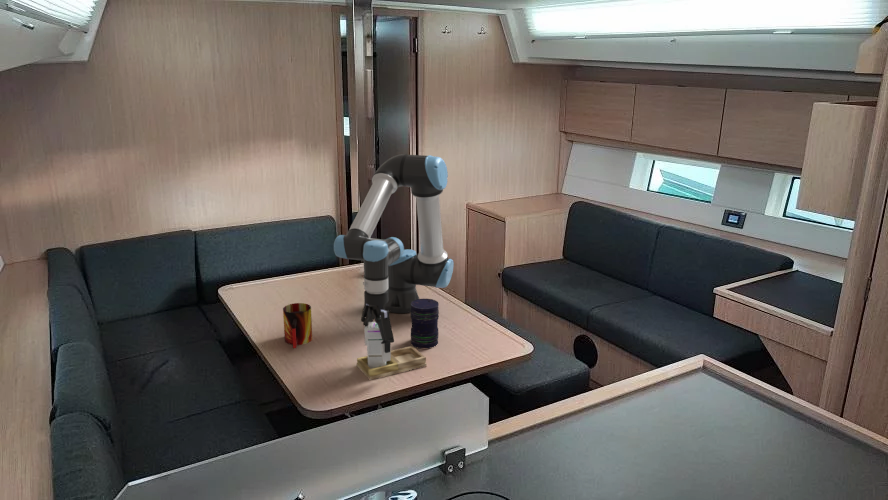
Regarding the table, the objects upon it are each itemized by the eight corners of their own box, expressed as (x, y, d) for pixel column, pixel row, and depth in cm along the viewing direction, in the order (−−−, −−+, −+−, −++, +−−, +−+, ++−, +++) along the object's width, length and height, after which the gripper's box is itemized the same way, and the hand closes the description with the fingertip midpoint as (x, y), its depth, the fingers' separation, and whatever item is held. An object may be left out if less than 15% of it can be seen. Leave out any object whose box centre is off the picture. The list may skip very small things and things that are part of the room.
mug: (293, 351, 221) (291, 319, 217) (281, 337, 232) (279, 306, 229) (320, 345, 226) (319, 314, 222) (307, 331, 237) (305, 301, 234)
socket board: (411, 353, 221) (411, 345, 220) (426, 366, 212) (426, 358, 211) (356, 365, 211) (356, 357, 210) (370, 380, 202) (369, 371, 201)
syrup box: (385, 370, 206) (385, 328, 202) (367, 370, 206) (366, 328, 202) (387, 362, 212) (386, 321, 208) (368, 362, 212) (368, 321, 208)
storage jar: (428, 351, 223) (428, 310, 218) (405, 344, 228) (404, 304, 223) (443, 341, 231) (444, 302, 227) (420, 334, 236) (421, 296, 232)
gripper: (350, 280, 210) (351, 340, 216) (381, 305, 189) (382, 370, 195) (371, 276, 214) (372, 335, 220) (404, 301, 193) (405, 365, 199)
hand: (377, 352), depth 207 cm, fingers open, 13 cm apart
